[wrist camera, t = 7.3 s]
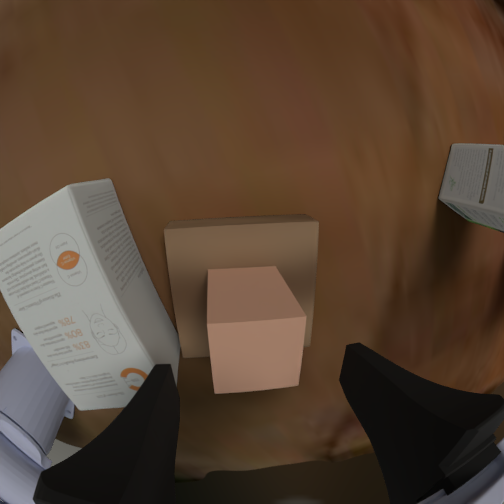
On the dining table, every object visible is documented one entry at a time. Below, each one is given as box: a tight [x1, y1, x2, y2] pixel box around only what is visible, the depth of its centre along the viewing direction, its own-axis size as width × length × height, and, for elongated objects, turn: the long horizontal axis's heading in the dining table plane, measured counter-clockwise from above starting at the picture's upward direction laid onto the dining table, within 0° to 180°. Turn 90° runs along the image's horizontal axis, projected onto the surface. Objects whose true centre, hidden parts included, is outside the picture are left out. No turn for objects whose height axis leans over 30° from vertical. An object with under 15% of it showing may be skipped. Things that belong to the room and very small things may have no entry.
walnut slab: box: [164, 214, 319, 358], centre depth 18 cm, size 9×9×3 cm
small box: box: [0, 178, 181, 410], centre depth 15 cm, size 8×6×13 cm
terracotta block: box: [207, 266, 307, 394], centre depth 14 cm, size 4×4×6 cm
